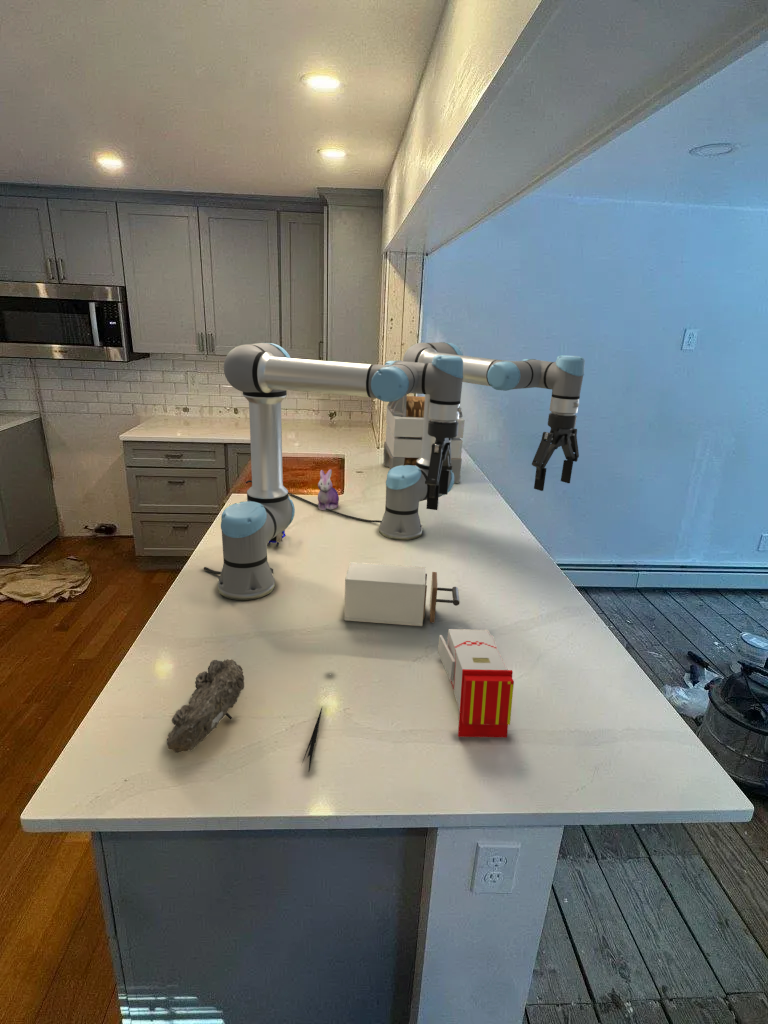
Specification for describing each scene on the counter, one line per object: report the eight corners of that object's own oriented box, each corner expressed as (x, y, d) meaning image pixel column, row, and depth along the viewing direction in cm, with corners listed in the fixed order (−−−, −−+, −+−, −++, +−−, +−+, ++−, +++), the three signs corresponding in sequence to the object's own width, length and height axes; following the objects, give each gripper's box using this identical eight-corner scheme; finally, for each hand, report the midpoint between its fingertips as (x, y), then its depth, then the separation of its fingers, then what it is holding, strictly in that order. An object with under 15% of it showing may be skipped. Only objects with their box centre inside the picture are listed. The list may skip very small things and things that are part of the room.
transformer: (382, 463, 289) (386, 382, 275) (445, 464, 293) (451, 384, 279) (390, 482, 257) (394, 392, 243) (460, 483, 261) (468, 394, 247)
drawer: (456, 606, 151) (459, 573, 147) (457, 624, 142) (461, 589, 139) (364, 600, 152) (365, 567, 148) (361, 617, 143) (362, 582, 140)
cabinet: (422, 606, 152) (425, 567, 148) (422, 626, 142) (425, 584, 138) (349, 601, 153) (350, 561, 149) (344, 620, 143) (345, 579, 139)
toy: (488, 613, 130) (523, 677, 101) (484, 667, 133) (517, 744, 104) (435, 612, 130) (455, 676, 101) (432, 666, 133) (451, 743, 103)
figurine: (321, 512, 217) (321, 474, 212) (311, 504, 225) (311, 467, 220) (344, 509, 221) (344, 472, 216) (333, 501, 229) (334, 465, 224)
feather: (331, 679, 122) (336, 673, 122) (307, 777, 96) (313, 769, 95) (324, 675, 122) (329, 669, 121) (298, 772, 95) (304, 764, 95)
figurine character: (282, 553, 183) (288, 531, 196) (281, 532, 180) (288, 511, 193) (261, 552, 183) (269, 530, 196) (260, 532, 179) (268, 511, 193)
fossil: (192, 660, 117) (244, 628, 112) (224, 691, 120) (276, 661, 115) (142, 746, 98) (202, 712, 93) (182, 779, 101) (242, 748, 96)
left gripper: (449, 430, 128) (442, 518, 136) (466, 413, 151) (459, 489, 158) (417, 427, 130) (412, 514, 137) (438, 411, 153) (432, 486, 160)
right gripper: (548, 419, 148) (537, 496, 155) (598, 411, 163) (586, 482, 171) (525, 414, 153) (515, 489, 160) (575, 407, 169) (564, 476, 176)
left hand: (437, 501), depth 148 cm, fingers open, 13 cm apart
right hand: (552, 485), depth 166 cm, fingers open, 13 cm apart
